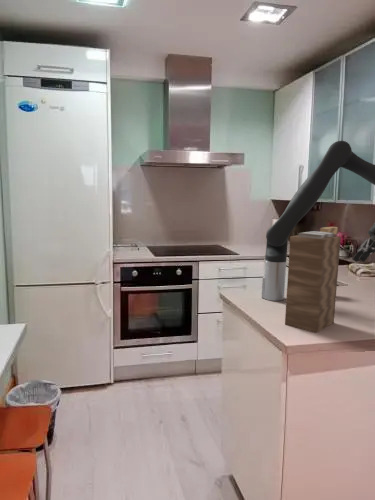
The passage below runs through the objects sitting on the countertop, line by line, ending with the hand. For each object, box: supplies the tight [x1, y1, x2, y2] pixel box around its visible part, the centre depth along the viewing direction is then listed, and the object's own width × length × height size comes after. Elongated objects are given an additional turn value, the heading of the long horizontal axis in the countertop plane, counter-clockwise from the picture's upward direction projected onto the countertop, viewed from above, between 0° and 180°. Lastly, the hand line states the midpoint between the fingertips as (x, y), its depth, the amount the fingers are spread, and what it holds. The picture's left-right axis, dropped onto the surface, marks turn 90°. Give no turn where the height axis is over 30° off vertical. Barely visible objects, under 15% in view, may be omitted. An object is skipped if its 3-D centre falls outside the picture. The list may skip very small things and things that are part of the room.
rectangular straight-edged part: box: [297, 226, 339, 239], centre depth 144 cm, size 22×8×3 cm, turn 139°
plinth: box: [284, 234, 342, 333], centre depth 142 cm, size 15×12×32 cm
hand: (357, 260), depth 157 cm, fingers open, 8 cm apart
